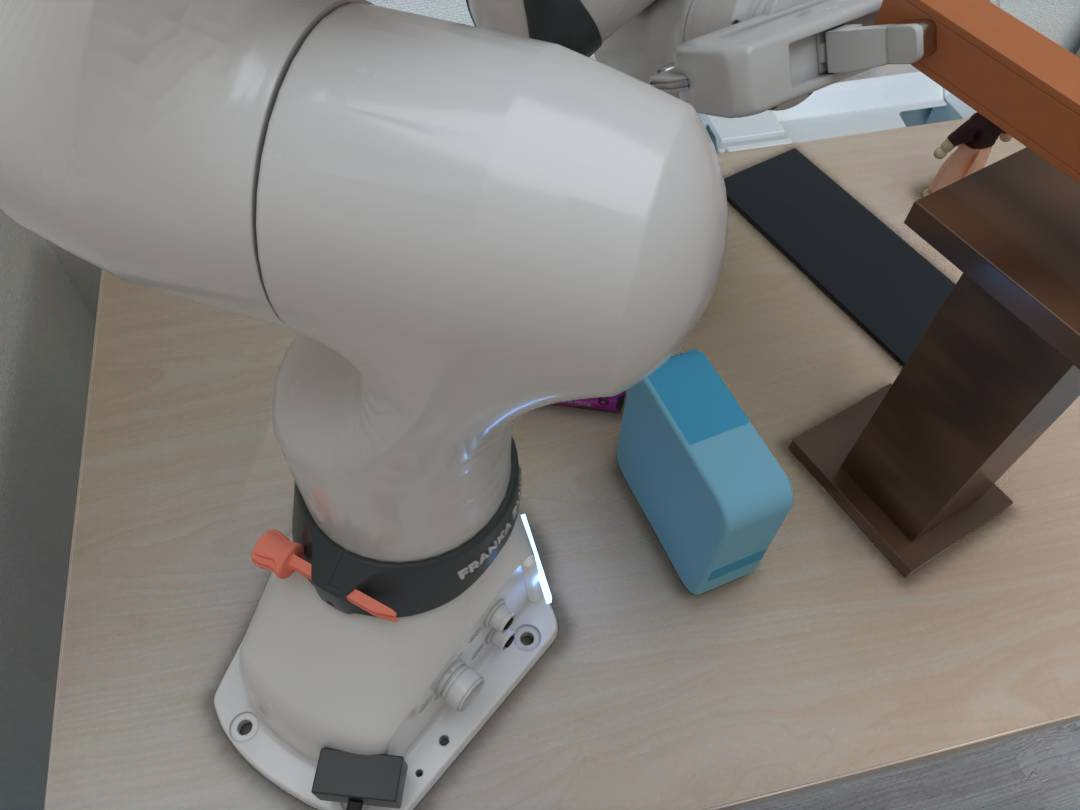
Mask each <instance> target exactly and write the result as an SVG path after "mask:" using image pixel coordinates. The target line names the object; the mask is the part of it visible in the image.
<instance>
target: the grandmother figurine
mask: <svg viewBox="0 0 1080 810" xmlns="http://www.w3.org/2000/svg"><path fill="white" fill-rule="evenodd" d="M998 139H999V140H1000V141H1001V142H1003V143H1008V142H1010V141H1011V140H1013V139H1014V138H1013V137H1012V136H1010V135H1009V134H1008V133H1006V132H1005V131H1003V130H1002V129H1001V128H999V127H998V126H996V125H995V124H994V123H992V122H991V121H989V120H988V119H986V118H985V117H984V116H982V115H981V114H979V113H978V112H977V111H975V112H974V113H973V114H972V115H971V116H970V117H969V118H968V119H967V120H966V121H965V122H963V123H962V124H960V125H959V126H958V127H957V128H955V130H953V131H952V132H951V133H949V135H948V136H947V137H946V139H945V140H943V141H942V142H941V144H940V146H938V147H937V148H935V149H934V150H933V157H934V158H935V159H937V160H942V159H944V158H945V157H946V156H947V155H948V153H950V152H951V151H952V150H954V149H955V148H956V149H955V150H954V151H953V152H952V153H951V154H950V155H949V156H948V157H947V158H946V159H945V160H944V162H943V163H941V165H940V166H939V168H938V170H937V173H935V176H934V177H933V179H932V181H931V182H930V184H929V186H928V188H925V189H924V190H922V192H921V196H922V198H923V197H925V196H927V195H929V194H931V193H933V192H935V191H937V190H939V189H941V188H943V187H945V186H947V185H949V184H952V183H954V182H956V181H958V180H960V179H962V178H964V177H966V176H968V175H970V174H972V173H974V172H976V171H978V170H980V169H982V168H985V167H986V164H987V161H988V159H989V158H990V154H991V152H992V148H993V146H994V145H995V144H996V142H997V140H998Z"/></svg>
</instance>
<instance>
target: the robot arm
mask: <svg viewBox="0 0 1080 810" xmlns="http://www.w3.org/2000/svg"><path fill="white" fill-rule="evenodd" d="M988 1H989V2H991V3H993V4H994V5H996V6H997V7H999V8H1001V0H988ZM882 2H883V0H465V4H466V7H467V10H468V13H469V16H470V19H471V21H472V23H473V25H470V24H465V23H462V22H456V21H451V20H446V19H443V18H442V19H441V18H437V17H432V16H428V15H423V14H418V13H414V12H410V11H409V12H408V11H404V10H401V9H395V8H390V7H386V6H381V5H376V4H374V3H372V2H371V1H369V0H0V210H1V211H2V212H3V213H4V214H6V215H7V216H8V217H9V218H11V220H13V221H14V222H16V223H18V224H19V225H20V226H22V227H23V228H25V229H28V230H29V231H31V232H33V233H34V234H36V235H38V236H40V237H41V238H43V239H45V240H47V241H48V242H50V243H52V244H54V245H55V246H58V248H60V249H63V250H64V251H66V252H68V253H69V254H71V255H73V256H75V257H77V258H79V259H81V260H83V261H85V262H86V263H89V264H91V265H93V266H94V267H97V268H98V269H101V270H102V271H104V272H106V273H108V274H110V275H112V276H113V277H115V278H118V279H120V280H122V281H124V282H127V283H129V284H131V285H134V286H137V287H141V288H143V289H147V290H151V291H154V292H158V293H162V294H165V295H168V296H172V297H175V298H179V299H181V300H182V299H183V300H185V301H189V302H192V303H196V304H200V305H203V306H206V307H210V308H213V309H216V310H220V311H224V312H228V313H232V314H235V315H238V316H241V317H245V318H248V319H252V320H255V321H260V322H262V323H265V324H268V325H269V324H270V325H273V326H276V327H280V328H283V329H287V330H291V331H292V332H294V333H295V334H297V335H296V336H295V337H294V338H293V340H292V341H291V342H290V344H289V345H288V347H287V348H286V350H285V352H284V354H283V355H282V357H281V359H280V361H279V364H278V367H277V369H276V372H275V376H274V380H273V385H272V388H271V389H272V391H271V395H270V396H271V397H270V421H271V427H272V431H273V434H274V437H275V439H276V442H277V443H278V446H279V447H280V450H281V452H282V454H283V457H284V459H285V462H286V463H287V465H288V468H289V470H290V473H291V475H292V477H293V482H294V483H293V501H292V521H291V522H292V523H291V528H290V531H289V533H288V536H286V535H285V534H283V532H281V531H279V530H277V529H275V528H272V529H269V530H267V531H265V532H264V533H263V534H262V535H261V536H260V537H259V539H257V542H256V543H255V544H254V547H253V548H252V554H251V557H250V558H251V563H252V564H253V565H254V566H257V567H258V568H261V569H264V570H266V571H269V572H271V574H270V576H269V578H268V581H267V584H266V585H265V589H264V591H263V593H262V594H261V597H260V599H259V602H258V605H257V606H256V609H255V611H254V613H253V616H252V618H251V621H250V623H249V625H248V628H247V629H246V632H245V635H244V637H243V638H242V640H241V642H240V644H239V646H238V649H237V650H236V652H235V654H234V656H233V658H232V659H231V661H230V664H229V665H228V667H227V669H226V670H225V674H224V675H223V677H222V679H221V680H220V683H219V685H218V687H217V690H215V694H214V697H213V706H214V709H215V713H216V716H217V718H218V721H219V723H220V726H221V727H222V729H223V732H224V733H225V734H226V736H227V738H228V739H229V741H230V742H231V744H232V745H233V746H234V748H235V749H236V750H237V751H238V753H239V754H240V755H241V756H242V757H243V758H244V759H245V761H247V763H248V764H249V765H251V767H253V768H254V769H255V770H256V771H257V772H258V773H260V774H261V775H262V776H263V777H264V778H266V779H267V780H269V782H272V783H273V784H274V785H276V786H277V787H279V788H280V789H281V790H283V791H284V792H286V793H288V794H289V795H291V796H293V797H294V798H296V799H297V800H299V801H301V802H303V803H304V804H306V805H308V806H310V807H312V808H315V809H316V810H415V808H416V807H417V806H418V805H419V803H421V801H423V799H424V798H425V796H426V795H427V794H428V793H429V792H430V790H432V788H433V786H435V785H436V783H437V782H438V781H439V780H440V779H441V777H442V776H443V775H444V774H445V772H447V770H448V769H449V768H450V767H451V765H452V764H453V763H454V762H455V760H456V759H457V758H458V757H459V756H460V754H462V752H463V751H464V750H465V748H466V747H468V745H469V744H470V742H471V741H473V739H474V738H475V736H476V735H477V734H478V733H479V732H480V730H481V729H483V727H484V726H485V725H486V724H487V722H488V721H489V720H490V718H491V717H493V715H494V714H495V713H496V712H497V710H498V709H499V708H500V707H501V705H502V704H503V703H504V702H505V701H506V700H507V698H508V697H509V696H510V694H511V693H512V692H513V691H514V690H515V688H517V686H518V685H519V684H520V683H521V681H522V680H523V679H524V678H525V676H526V675H527V674H528V673H529V672H530V671H531V669H532V668H533V667H534V666H535V664H536V663H537V662H538V661H539V660H540V658H541V657H542V656H543V655H544V654H545V653H546V651H547V650H548V649H549V648H550V647H551V646H552V644H553V643H554V641H555V639H557V635H558V630H559V629H558V627H559V626H558V621H557V617H556V614H555V611H554V610H553V607H552V605H551V604H552V600H553V597H552V596H553V595H552V593H551V590H550V587H549V584H548V581H547V578H546V575H545V571H544V568H543V565H542V562H541V559H540V556H539V552H538V550H537V547H536V544H535V541H534V537H533V534H532V531H531V527H530V525H529V522H528V519H527V516H526V513H523V514H521V513H520V512H521V511H520V503H521V496H522V489H523V488H522V484H523V482H522V481H523V479H522V477H523V476H522V466H521V464H520V463H519V455H518V453H519V452H518V448H517V445H516V442H515V439H514V437H513V426H514V425H513V424H514V420H515V419H516V418H518V417H520V416H522V415H524V414H526V413H528V412H531V411H533V410H537V409H539V408H542V407H546V406H549V405H554V404H553V403H558V402H564V401H570V400H578V399H587V398H599V397H612V396H616V395H618V394H620V393H622V392H624V391H626V390H627V391H628V389H629V388H631V387H633V386H635V385H636V384H638V383H639V382H641V381H642V380H644V379H645V378H647V377H648V376H650V375H651V374H652V373H653V372H655V371H656V370H657V369H658V368H660V367H661V366H662V365H663V364H664V363H666V362H667V361H668V360H669V359H670V358H671V357H672V356H675V354H676V353H677V352H678V350H680V349H681V348H682V346H683V345H684V343H685V342H686V341H687V340H688V338H689V337H690V336H691V335H692V333H693V332H694V331H695V329H696V328H697V326H698V324H699V323H700V321H701V320H702V318H703V316H704V314H705V313H706V311H707V308H708V306H709V305H710V303H711V300H712V298H713V296H714V294H715V291H716V288H717V286H718V282H719V279H720V277H721V274H722V269H723V265H724V262H725V261H724V260H725V257H726V251H727V242H728V234H729V206H728V201H727V194H726V186H725V182H724V178H725V177H724V172H723V169H722V165H721V161H720V158H719V156H718V153H717V150H716V147H715V144H714V142H713V140H712V138H711V136H710V133H709V132H708V130H707V128H706V125H705V123H704V122H703V120H702V118H701V117H700V115H699V114H701V115H706V116H712V117H719V118H726V119H739V118H746V117H751V116H755V115H760V114H762V113H764V112H767V111H772V112H779V111H786V110H789V109H792V108H794V107H796V106H798V105H800V104H801V103H803V102H804V101H805V100H807V99H808V98H810V96H811V95H812V94H813V93H814V92H817V91H819V90H822V89H824V88H827V87H828V86H831V85H833V84H837V83H839V82H841V81H844V80H846V79H849V78H852V77H853V76H856V75H858V74H862V73H863V72H866V71H869V70H872V69H874V68H875V69H876V68H880V67H885V66H887V65H911V64H912V63H915V62H917V61H919V60H921V59H924V58H926V57H928V56H931V55H932V54H934V53H935V51H936V49H937V41H936V39H935V36H936V33H937V26H936V23H935V21H933V20H932V19H920V20H919V19H911V20H905V21H902V22H899V23H896V24H884V25H874V23H875V20H876V18H877V15H878V12H879V10H880V7H881V5H882ZM593 55H594V58H592V56H593ZM627 391H626V392H627ZM526 636H528V637H531V638H532V640H533V642H531V644H524V643H523V642H522V641H521V640H522V638H524V637H526ZM246 724H251V729H250V731H249V732H248V733H246V734H241V730H242V728H243V727H244V725H246ZM445 739H446V740H448V743H447V744H445V745H442V744H441V742H442V741H443V740H445ZM420 773H421V776H418V774H420Z"/></svg>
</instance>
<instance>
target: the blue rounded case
mask: <svg viewBox="0 0 1080 810" xmlns="http://www.w3.org/2000/svg"><path fill="white" fill-rule="evenodd" d="M624 402H625V403H624V406H623V412H622V417H621V418H622V419H621V424H620V429H619V433H618V439H617V445H616V458H617V464H618V466H619V469H620V471H621V473H622V475H623V477H624V479H625V481H626V482H627V485H628V487H629V489H630V490H631V492H632V493H633V495H634V497H635V499H636V501H637V503H638V504H639V506H640V508H641V510H642V512H643V513H644V516H645V517H646V519H647V521H648V523H649V524H650V527H651V528H652V530H653V531H654V533H655V535H656V537H657V538H658V541H659V542H660V544H661V546H662V548H663V550H664V551H665V553H666V555H667V557H668V559H669V560H670V562H671V564H672V566H673V568H674V569H675V571H676V573H677V575H678V577H679V579H680V580H681V582H682V584H683V586H684V587H685V588H686V589H687V590H688V591H689V592H690V593H691V594H692V595H694V596H695V595H696V596H699V595H701V594H705V593H707V592H709V591H712V590H713V589H716V588H719V587H720V586H723V585H725V584H727V583H730V582H732V581H735V580H737V579H740V578H742V577H744V576H747V575H749V574H751V573H753V572H755V571H756V569H757V568H758V566H759V565H760V562H761V561H762V559H763V557H764V555H765V554H766V552H767V550H768V549H769V547H770V545H771V543H772V542H773V540H774V539H775V537H776V535H777V533H778V532H779V531H780V528H781V527H782V525H783V523H784V521H785V520H786V518H787V516H788V514H789V513H790V511H791V510H792V508H793V505H794V492H793V487H792V484H791V482H790V480H789V477H788V475H787V473H786V472H785V470H784V469H783V467H782V466H781V464H780V463H779V462H778V460H777V458H776V457H775V455H774V454H773V452H772V451H771V450H770V448H769V446H768V445H767V443H766V442H765V441H764V438H762V436H761V435H760V433H759V431H757V429H756V428H755V426H754V425H753V423H752V422H751V420H750V418H749V417H748V416H747V414H746V412H745V411H744V409H743V408H742V406H741V405H740V404H739V402H738V401H737V400H736V398H735V396H734V395H733V393H732V392H731V391H730V389H729V387H728V386H727V384H726V383H725V382H724V380H723V378H722V377H721V376H720V374H719V373H718V371H717V370H716V369H715V366H713V363H711V360H710V359H709V358H708V357H707V355H706V354H704V352H702V351H701V350H699V349H690V350H687V351H684V352H682V353H679V354H676V355H675V354H674V355H673V356H672V357H671V358H670V359H669V360H668V361H667V362H666V363H664V364H663V365H662V366H661V367H660V368H658V369H657V370H656V371H655V372H653V373H652V374H651V375H650V376H648V377H647V378H645V379H644V380H642V381H641V382H639V383H638V384H636V385H635V386H633V387H631V388H629V389H627V391H626V395H625V401H624Z"/></svg>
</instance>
